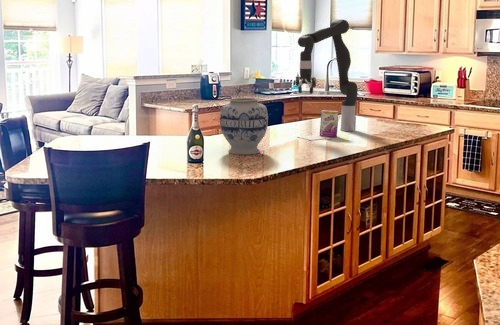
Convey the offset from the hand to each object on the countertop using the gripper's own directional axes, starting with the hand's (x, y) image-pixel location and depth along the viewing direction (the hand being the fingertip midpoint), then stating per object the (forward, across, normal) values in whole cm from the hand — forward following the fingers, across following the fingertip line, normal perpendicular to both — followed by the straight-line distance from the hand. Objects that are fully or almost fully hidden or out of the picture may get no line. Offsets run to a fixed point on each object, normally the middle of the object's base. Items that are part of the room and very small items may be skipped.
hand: (305, 93), depth 405 cm
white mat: (+28, -9, +4) cm, 29 cm away
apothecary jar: (+26, -7, +69) cm, 74 cm away
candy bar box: (+28, -13, -7) cm, 32 cm away
